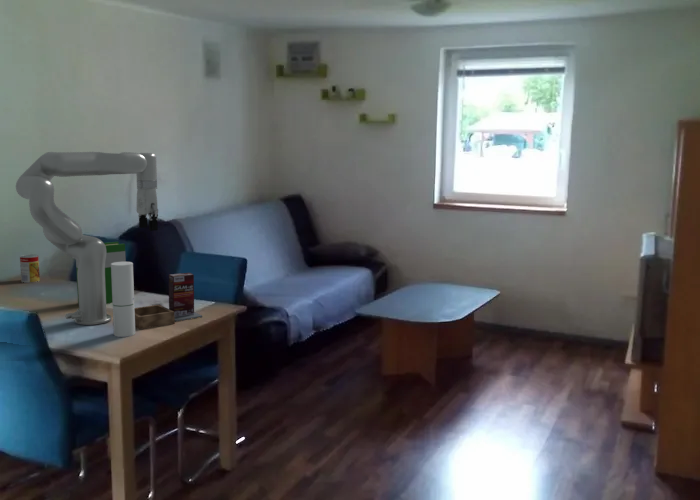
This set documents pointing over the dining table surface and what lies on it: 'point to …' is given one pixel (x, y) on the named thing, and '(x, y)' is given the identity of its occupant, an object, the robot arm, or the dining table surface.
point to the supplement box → (181, 294)
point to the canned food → (29, 268)
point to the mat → (187, 317)
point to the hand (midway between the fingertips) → (148, 228)
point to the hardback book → (109, 265)
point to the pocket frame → (153, 316)
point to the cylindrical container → (123, 299)
